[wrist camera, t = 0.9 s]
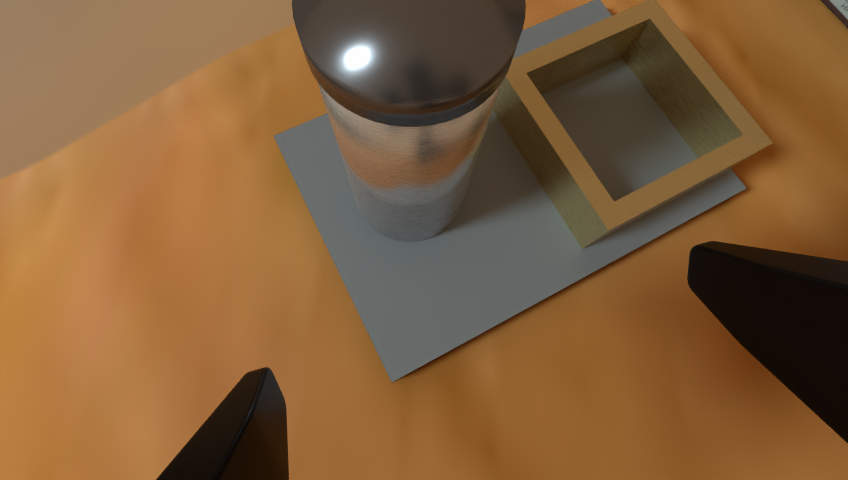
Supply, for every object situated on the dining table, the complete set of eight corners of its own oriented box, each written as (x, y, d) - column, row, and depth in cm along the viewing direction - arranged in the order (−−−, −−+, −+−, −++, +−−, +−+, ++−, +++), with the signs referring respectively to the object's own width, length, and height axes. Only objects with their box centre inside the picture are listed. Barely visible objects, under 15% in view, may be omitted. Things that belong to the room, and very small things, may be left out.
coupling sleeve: (486, 213, 22) (569, 43, 11) (383, 263, 21) (353, 137, 10) (432, 123, 23) (455, -114, 12) (334, 167, 22) (256, -44, 11)
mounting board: (730, 196, 24) (746, 188, 23) (392, 381, 21) (391, 382, 20) (590, 13, 27) (598, -2, 26) (279, 146, 24) (273, 135, 23)
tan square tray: (728, 171, 23) (773, 143, 20) (582, 248, 22) (608, 230, 19) (626, 39, 26) (653, -3, 23) (487, 101, 24) (497, 65, 21)
